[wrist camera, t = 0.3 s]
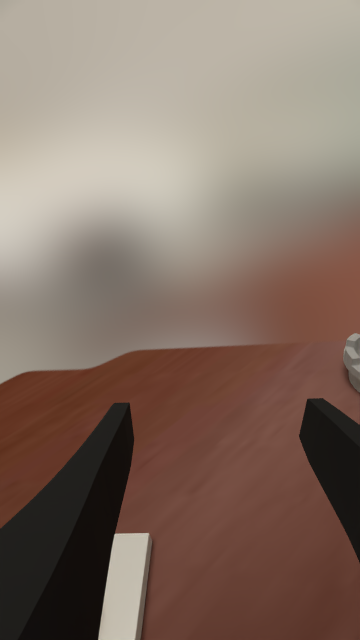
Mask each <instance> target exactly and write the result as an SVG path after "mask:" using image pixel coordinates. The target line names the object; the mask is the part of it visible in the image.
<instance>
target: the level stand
mask: <svg viewBox="0 0 360 640" xmlns="http://www.w3.org/2000/svg"><path fill="white" fill-rule="evenodd" d="M151 548H152V539H151V537H150V535H149V533H134V534H115V535H114V540H113V545H112V551H111V557H110V563H109V570H108V576H107V582H106V589H105V596H104V603H103V609H102V616H101V623H100V630H99V637H98V640H141V632H142V623H143V615H144V606H145V598H146V590H147V581H148V573H149V564H150V556H151Z"/></svg>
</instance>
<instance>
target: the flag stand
mask: <svg viewBox="0 0 360 640" xmlns="http://www.w3.org/2000/svg"><path fill="white" fill-rule="evenodd" d="M343 361H344V364H345V366H346V368H347V369H348V370H349V380H350V382H351V384H352V385H353V386H354V388H355V389H356V390H357V391H358V392H360V335H359V334H356V333H355V334H353V335H351V336H350V337H349V338H348V339H347V342H346V347H345V349H344V355H343Z"/></svg>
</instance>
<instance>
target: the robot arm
mask: <svg viewBox="0 0 360 640" xmlns="http://www.w3.org/2000/svg"><path fill="white" fill-rule="evenodd" d="M299 437H300V440H301V443H302V445H303V448H304V451H305V453H306V456H307V458H308V461H309V463H310V465H311V467H312V469H313V471H314V473H315V475H316V476H317V478H318V480H319V482H320V484H321V486H322V488H323V490H324V492H325V493H326V495H327V497H328V499H329V501H330V503H331V505H332V506H333V508H334V510H335V512H336V514H337V516H338V518H339V520H340V521H341V523H342V525H343V527H344V529H345V531H346V533H347V535H348V537H349V539H350V541H351V544H352V546H353V548H354V550H355V553H356V555H357V557H358V560H359V562H360V425H359V424H357V423H356V422H355V421H353V420H352V419H351V418H349V417H348V416H347V415H345V414H344V413H342V412H341V411H340V410H338V409H337V408H336V407H334V406H333V405H331V404H330V403H329V402H327V401H326V400H324V399H323V398H319V399H307V403H306V408H305V412H304V416H303V421H302V425H301V430H300V434H299ZM133 445H134V435H133V427H132V419H131V411H130V403H114V404H113V405H112V406H111V407H110V409H109V410H108V412H107V413H106V415H105V416H104V417H103V419H102V420H101V421H100V423H99V424H98V425H97V427H96V428H95V429H94V431H93V432H92V433H91V435H90V436H89V437H88V438H87V440H86V441H85V442H84V443H83V445H82V446H81V447H80V448H79V449H78V451H77V452H76V453H75V454H74V455H73V456H72V458H71V459H70V460H69V461H68V462H67V463H66V465H65V466H64V467H63V468H62V469H61V470H60V471H59V472H58V473H57V475H56V476H55V477H54V478H53V479H52V480H51V481H50V482H49V483H48V484H47V485H46V486H45V487H44V488H43V489H42V490H41V491H40V492H39V493H38V494H37V495H36V496H35V497H34V498H33V499H32V500H31V501H30V502H29V503H28V504H27V505H26V506H25V507H24V508H23V509H21V510H20V511H19V512H18V513H17V514H16V515H15V516H14V517H13V518H12V519H11V520H10V521H9V522H7V523H6V524H5V525H4V526H3V527H2V528H1V529H0V640H98V637H99V630H100V623H101V616H102V609H103V603H104V596H105V589H106V582H107V576H108V570H109V563H110V557H111V551H112V545H113V540H114V535H115V530H116V526H117V522H118V518H119V514H120V510H121V505H122V501H123V497H124V493H125V489H126V484H127V480H128V476H129V472H130V467H131V461H132V453H133Z"/></svg>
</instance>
